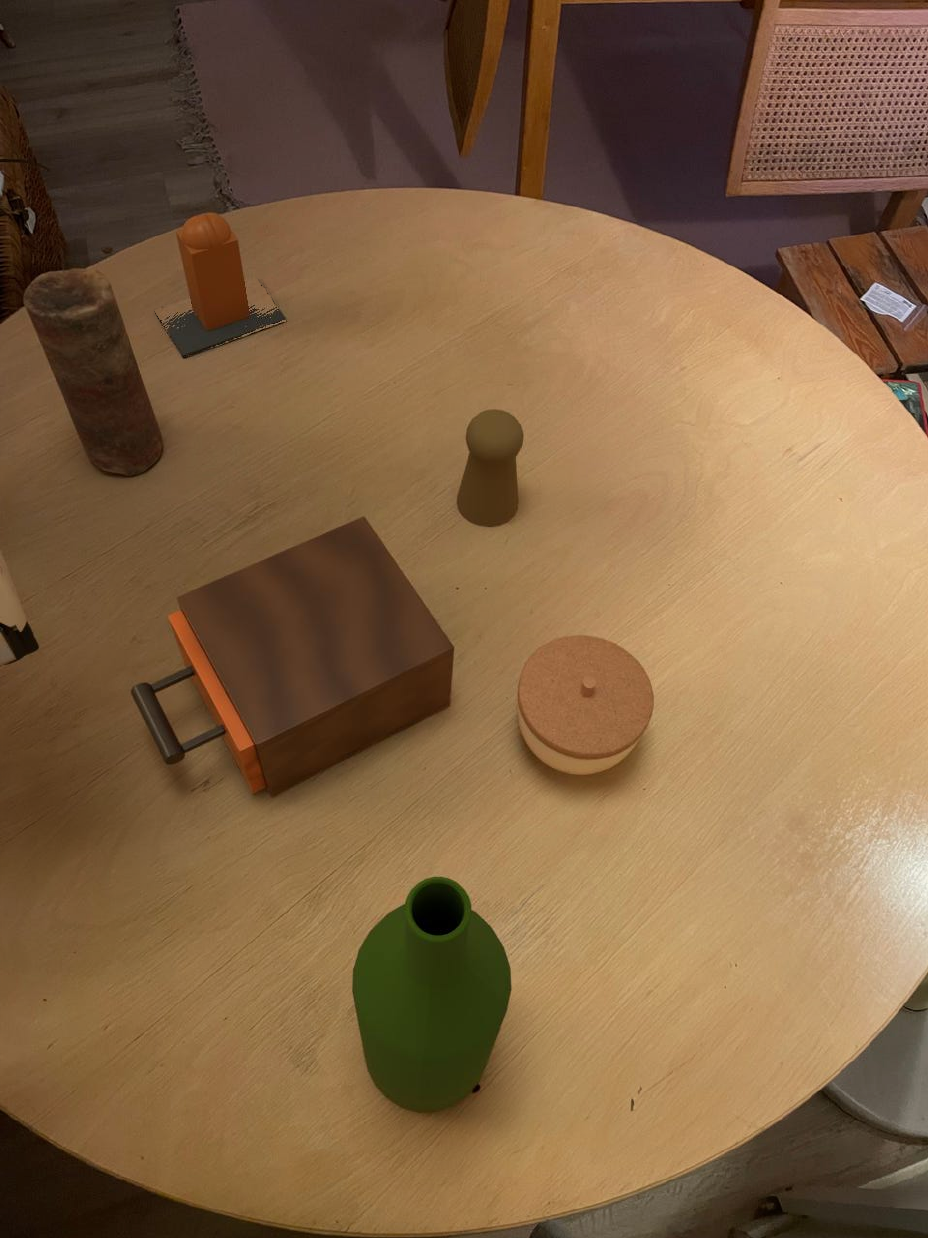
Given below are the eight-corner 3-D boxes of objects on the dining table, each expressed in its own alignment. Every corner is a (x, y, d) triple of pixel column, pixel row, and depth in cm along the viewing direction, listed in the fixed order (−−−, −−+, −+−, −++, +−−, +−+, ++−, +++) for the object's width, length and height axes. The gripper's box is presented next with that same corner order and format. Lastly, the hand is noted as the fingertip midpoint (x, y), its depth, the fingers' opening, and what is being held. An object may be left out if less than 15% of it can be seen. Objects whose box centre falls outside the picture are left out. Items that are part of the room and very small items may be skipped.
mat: (183, 358, 109) (182, 355, 109) (154, 312, 113) (153, 309, 113) (286, 321, 113) (286, 318, 113) (255, 278, 117) (254, 274, 116)
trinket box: (542, 661, 92) (555, 602, 84) (654, 713, 89) (679, 658, 81) (488, 758, 86) (496, 706, 78) (605, 817, 84) (626, 769, 76)
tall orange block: (207, 331, 111) (187, 237, 101) (192, 309, 113) (171, 213, 103) (250, 316, 113) (235, 221, 102) (235, 294, 114) (218, 199, 104)
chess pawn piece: (447, 486, 102) (452, 407, 93) (504, 471, 103) (514, 392, 94) (469, 533, 99) (476, 456, 90) (527, 517, 100) (540, 440, 91)
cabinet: (271, 797, 84) (256, 745, 75) (197, 659, 90) (176, 597, 82) (450, 706, 89) (454, 647, 81) (367, 581, 95) (364, 515, 87)
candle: (72, 468, 101) (4, 306, 84) (104, 415, 105) (45, 249, 88) (146, 485, 100) (93, 325, 83) (175, 431, 104) (130, 267, 87)
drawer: (194, 823, 81) (175, 783, 74) (129, 690, 87) (106, 642, 80) (422, 707, 88) (423, 660, 81) (347, 591, 94) (342, 538, 87)
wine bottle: (477, 972, 77) (517, 802, 50) (498, 1102, 72) (554, 995, 45) (357, 990, 76) (330, 826, 48) (371, 1123, 71) (348, 1026, 44)
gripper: (-232, 380, 51) (-85, 588, 67) (-155, 599, 45) (-11, 774, 60) (-78, 330, 54) (30, 542, 69) (17, 532, 47) (113, 716, 63)
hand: (11, 650), depth 65 cm, fingers closed
